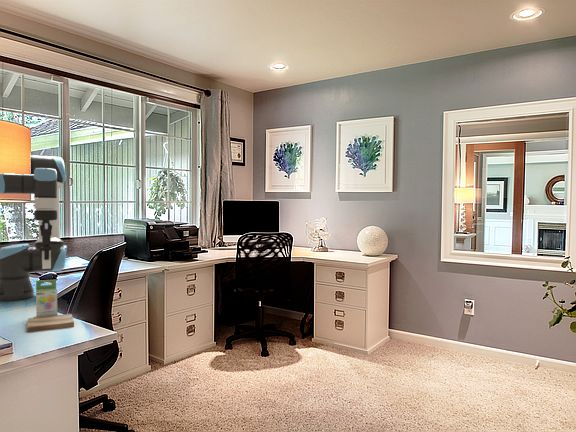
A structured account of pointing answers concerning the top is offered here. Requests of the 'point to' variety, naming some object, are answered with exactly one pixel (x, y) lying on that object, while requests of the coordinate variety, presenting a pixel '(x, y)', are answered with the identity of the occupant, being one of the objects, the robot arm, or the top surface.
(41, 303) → the ink box
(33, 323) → the board
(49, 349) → the top surface
